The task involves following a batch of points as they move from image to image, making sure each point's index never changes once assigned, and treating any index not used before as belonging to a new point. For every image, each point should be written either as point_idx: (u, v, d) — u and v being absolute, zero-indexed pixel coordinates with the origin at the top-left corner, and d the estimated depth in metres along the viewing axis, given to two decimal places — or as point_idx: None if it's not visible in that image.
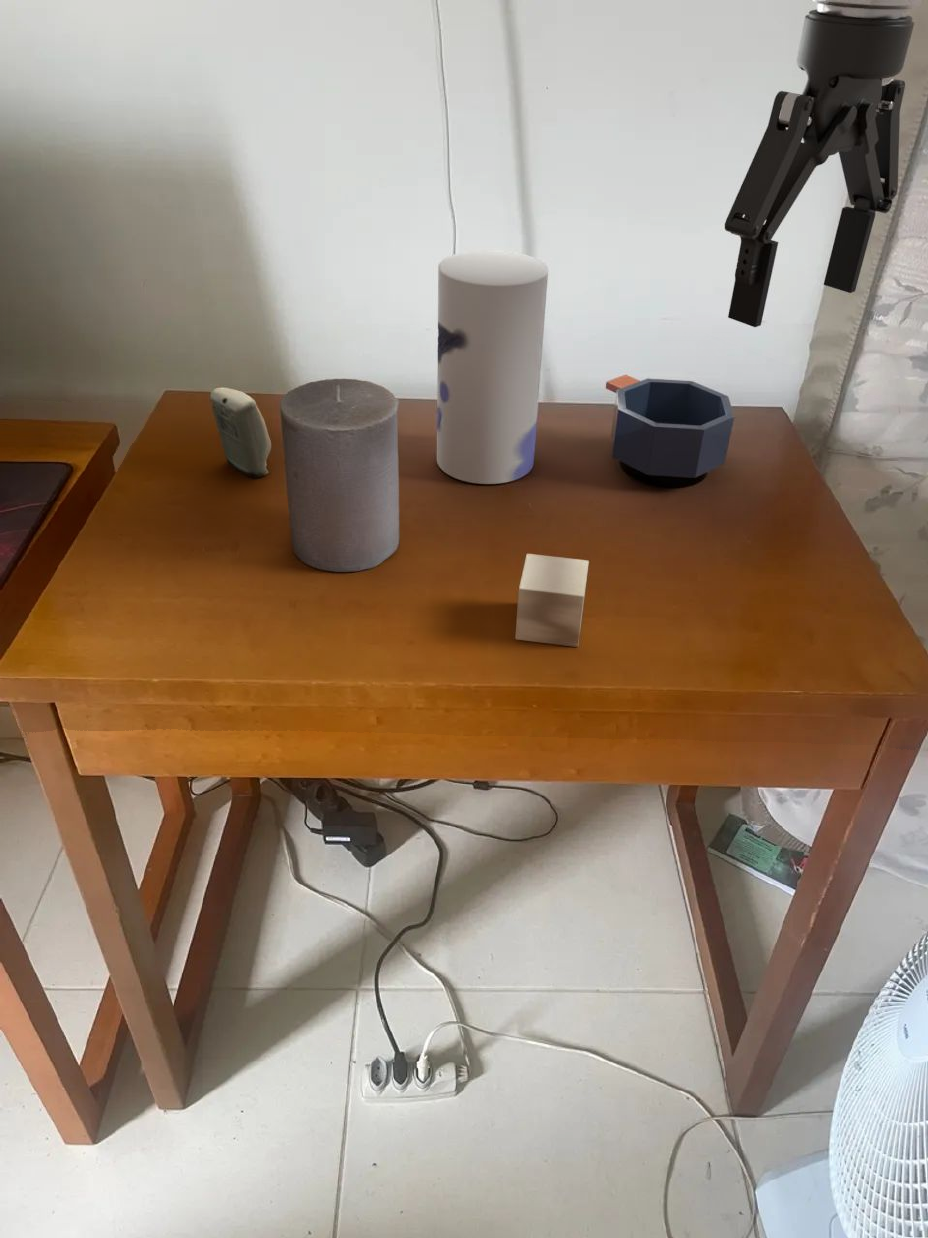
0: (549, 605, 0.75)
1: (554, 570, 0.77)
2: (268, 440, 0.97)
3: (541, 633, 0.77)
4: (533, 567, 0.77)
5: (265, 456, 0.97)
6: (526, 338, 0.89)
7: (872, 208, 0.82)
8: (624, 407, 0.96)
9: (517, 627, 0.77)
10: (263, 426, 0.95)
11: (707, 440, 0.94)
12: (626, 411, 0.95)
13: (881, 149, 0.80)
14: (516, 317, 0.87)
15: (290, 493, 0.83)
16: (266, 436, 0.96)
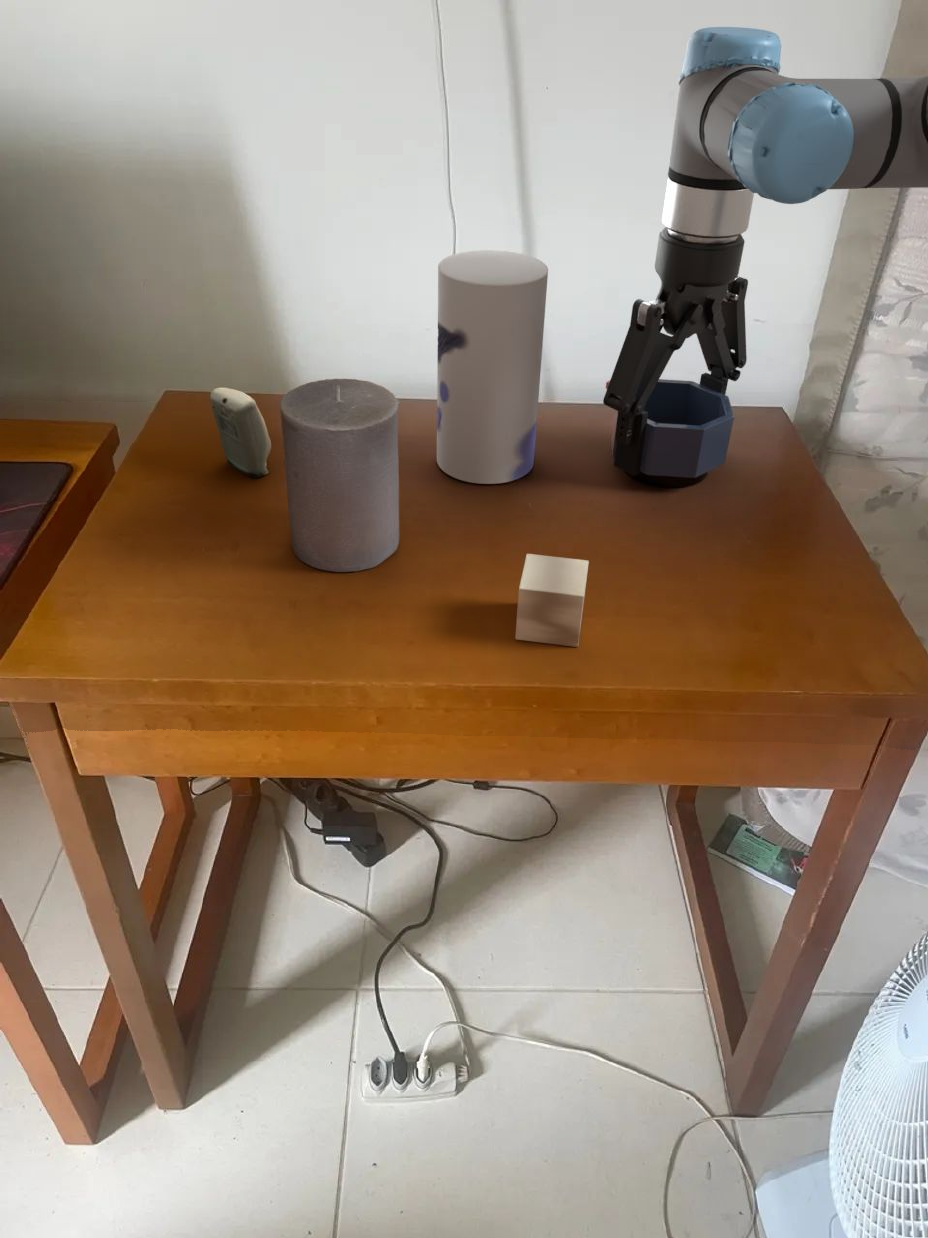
0: (549, 605, 0.75)
1: (554, 570, 0.77)
2: (268, 440, 0.97)
3: (541, 633, 0.77)
4: (533, 567, 0.77)
5: (265, 456, 0.97)
6: (526, 338, 0.89)
7: (724, 376, 0.99)
8: None
9: (517, 627, 0.77)
10: (263, 426, 0.95)
11: (707, 440, 0.94)
12: None
13: (731, 329, 0.97)
14: (516, 317, 0.87)
15: (290, 493, 0.83)
16: (266, 436, 0.96)
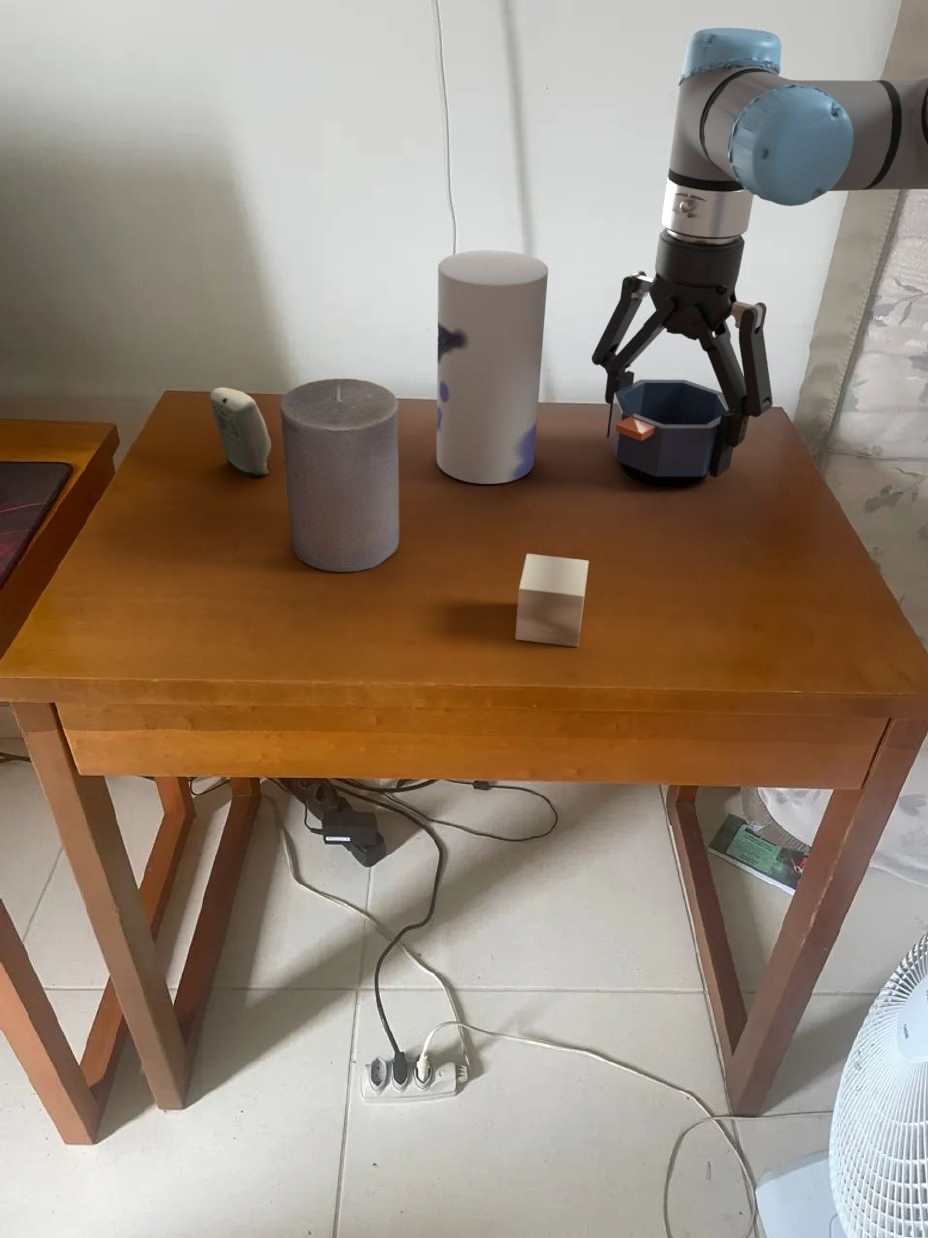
0: (549, 605, 0.75)
1: (554, 570, 0.77)
2: (268, 440, 0.97)
3: (541, 633, 0.77)
4: (533, 567, 0.77)
5: (265, 456, 0.97)
6: (526, 338, 0.89)
7: (626, 368, 1.00)
8: (704, 425, 0.93)
9: (517, 627, 0.77)
10: (263, 426, 0.95)
11: None
12: (713, 424, 0.93)
13: (627, 324, 0.97)
14: (516, 317, 0.87)
15: (290, 493, 0.83)
16: (266, 436, 0.96)
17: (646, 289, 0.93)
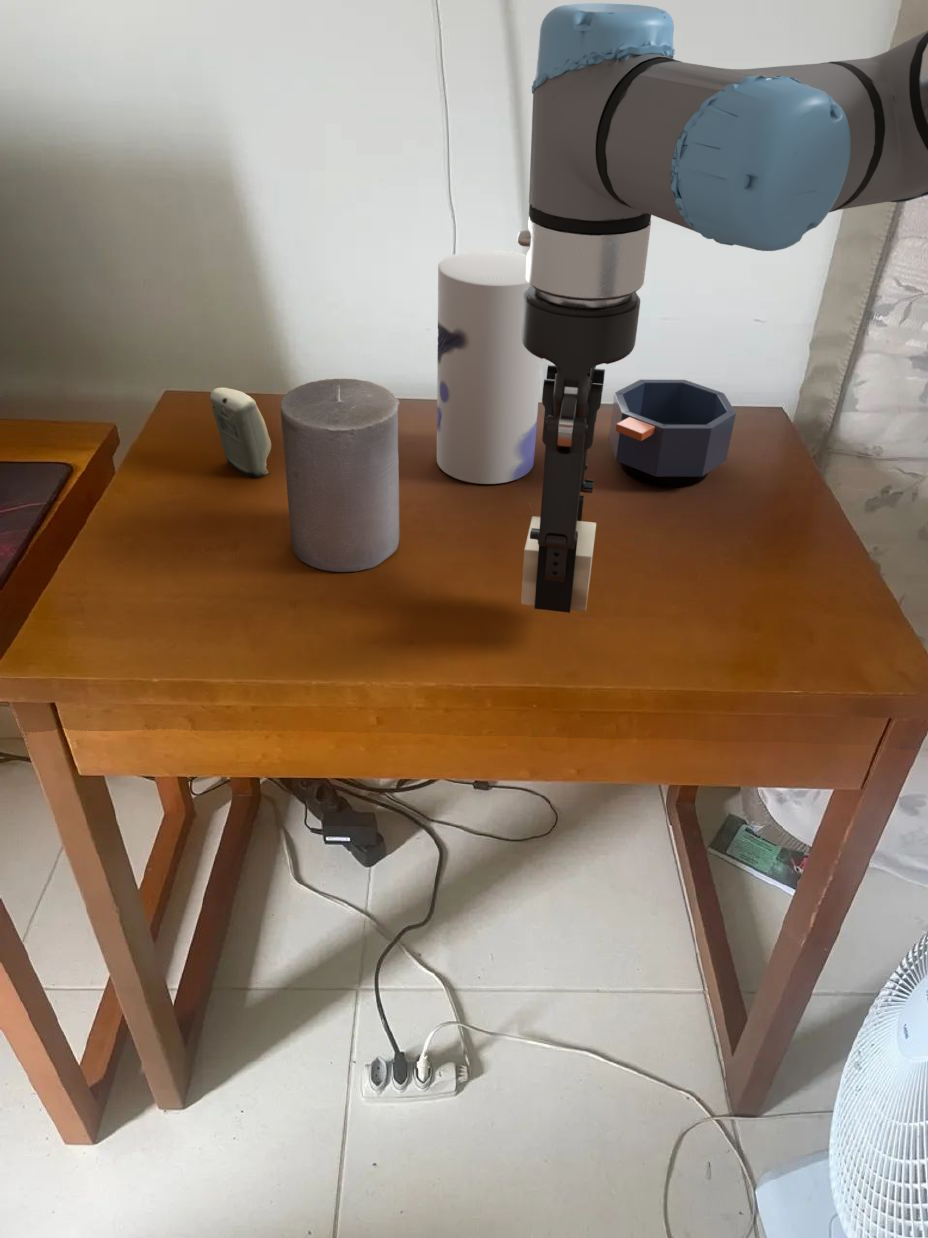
0: None
1: None
2: (268, 440, 0.97)
3: None
4: None
5: (265, 456, 0.97)
6: None
7: None
8: (704, 425, 0.93)
9: (523, 591, 0.75)
10: (263, 426, 0.95)
11: None
12: (713, 424, 0.93)
13: None
14: (516, 317, 0.87)
15: (290, 493, 0.83)
16: (266, 436, 0.96)
17: None
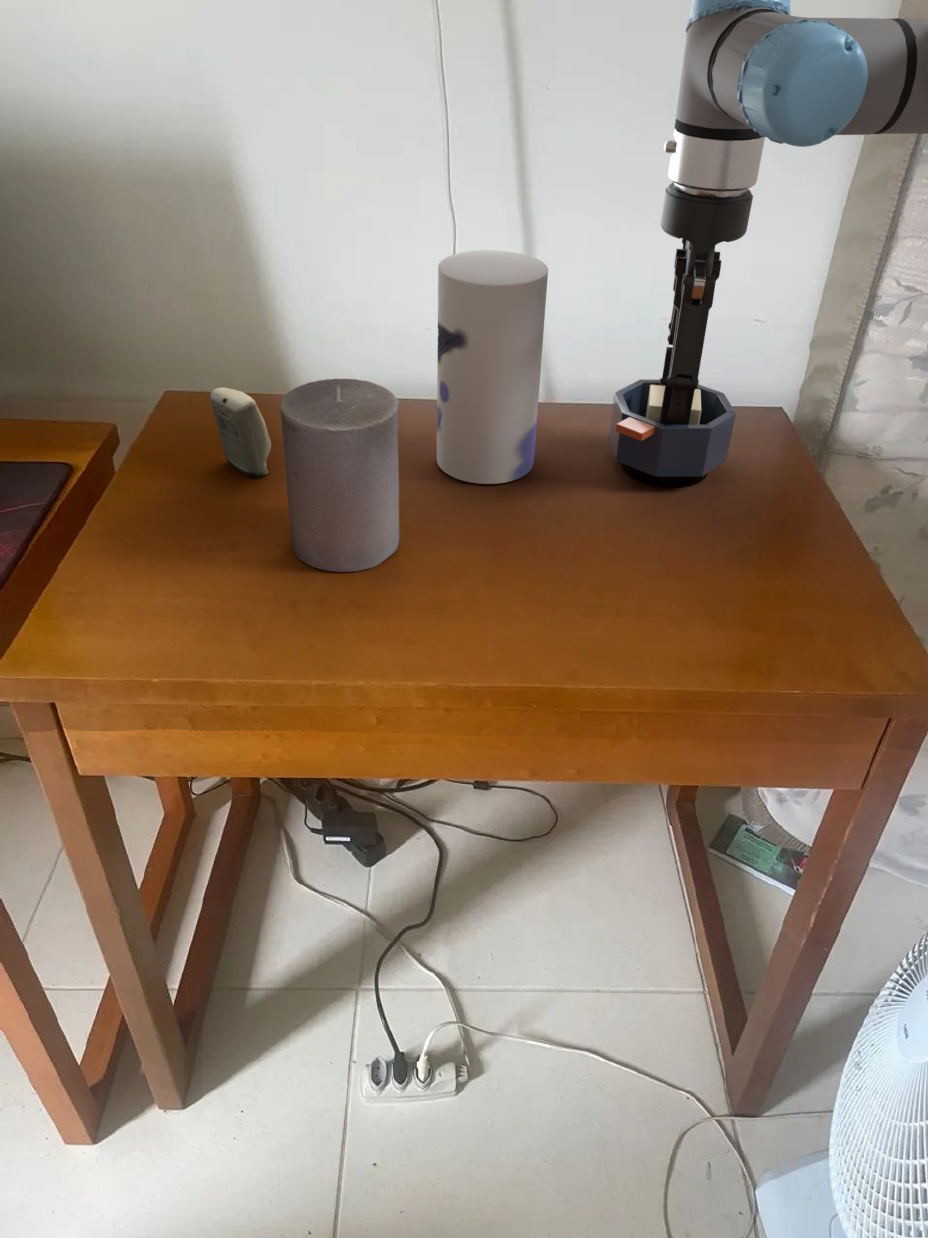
0: None
1: None
2: (268, 440, 0.97)
3: None
4: (657, 393, 0.97)
5: (265, 456, 0.97)
6: (526, 338, 0.89)
7: None
8: (704, 425, 0.93)
9: None
10: (263, 426, 0.95)
11: None
12: (713, 424, 0.93)
13: None
14: (516, 317, 0.87)
15: (290, 493, 0.83)
16: (266, 436, 0.96)
17: None
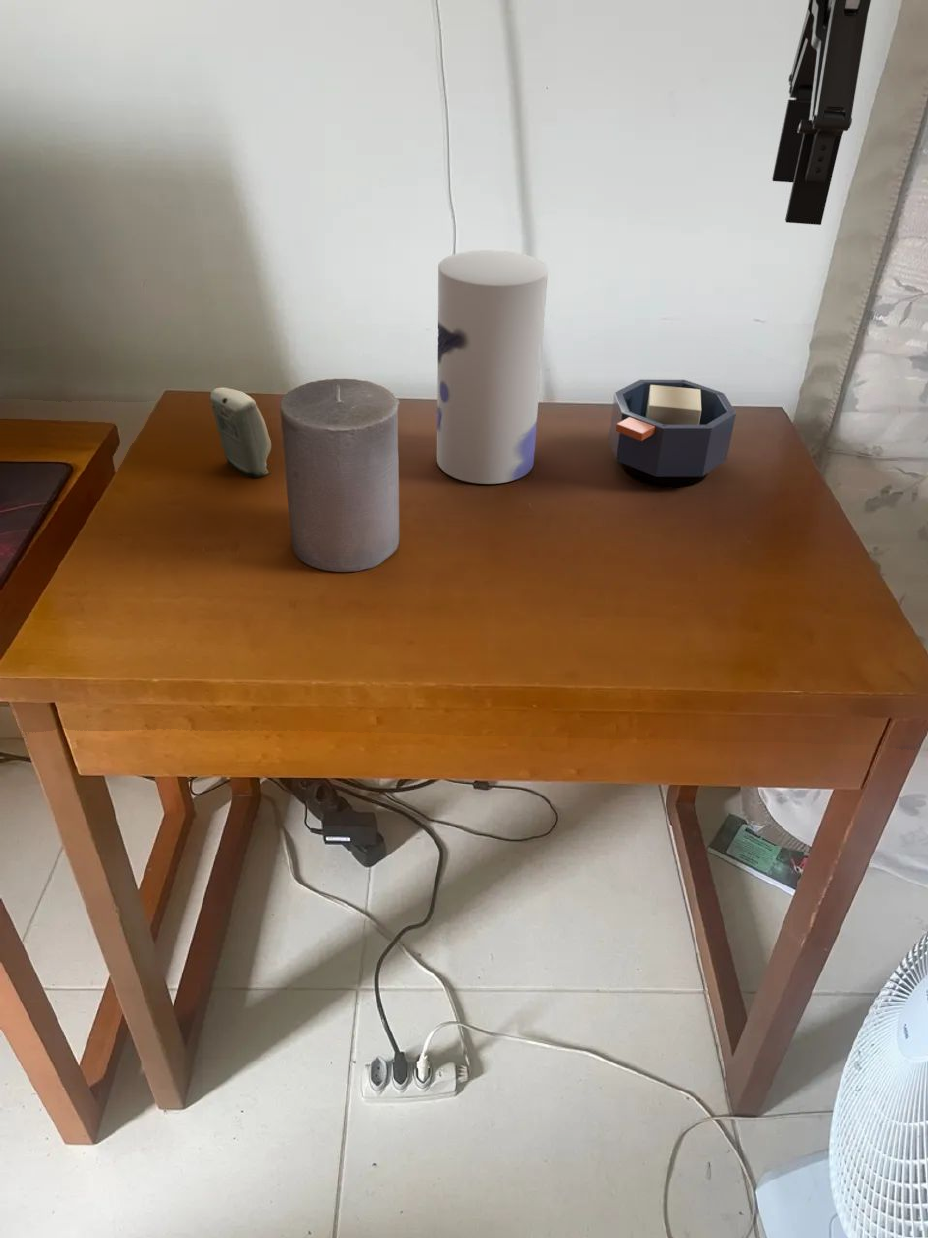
0: (672, 419, 0.95)
1: (674, 394, 0.97)
2: (268, 440, 0.97)
3: None
4: (657, 393, 0.97)
5: (265, 456, 0.97)
6: (526, 338, 0.89)
7: None
8: (704, 425, 0.93)
9: None
10: (263, 426, 0.95)
11: None
12: (713, 424, 0.93)
13: None
14: (516, 317, 0.87)
15: (290, 493, 0.83)
16: (266, 436, 0.96)
17: None
